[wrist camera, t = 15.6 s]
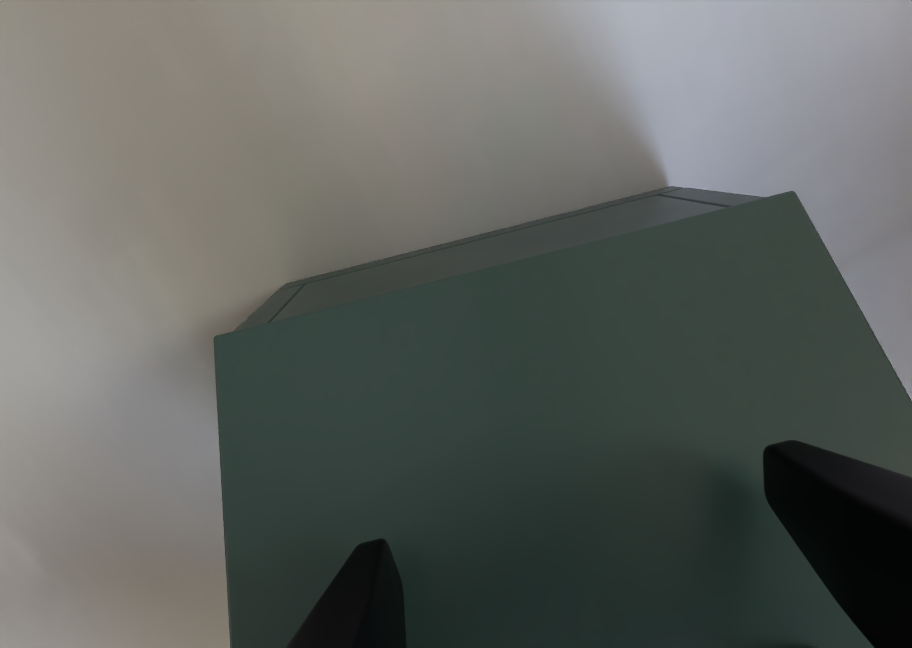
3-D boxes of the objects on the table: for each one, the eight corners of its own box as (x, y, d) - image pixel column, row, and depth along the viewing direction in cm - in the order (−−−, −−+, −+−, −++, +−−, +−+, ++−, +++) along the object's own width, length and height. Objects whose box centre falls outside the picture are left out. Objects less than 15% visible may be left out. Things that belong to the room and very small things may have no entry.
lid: (1078, 773, 7) (1989, 1215, 3) (271, 955, 7) (-80, 1625, 3) (776, 208, 10) (967, 0, 6) (231, 346, 10) (37, 240, 6)
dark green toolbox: (696, 437, 17) (781, 525, 13) (369, 516, 17) (352, 627, 13) (672, 185, 14) (772, 197, 10) (283, 283, 14) (228, 333, 10)
